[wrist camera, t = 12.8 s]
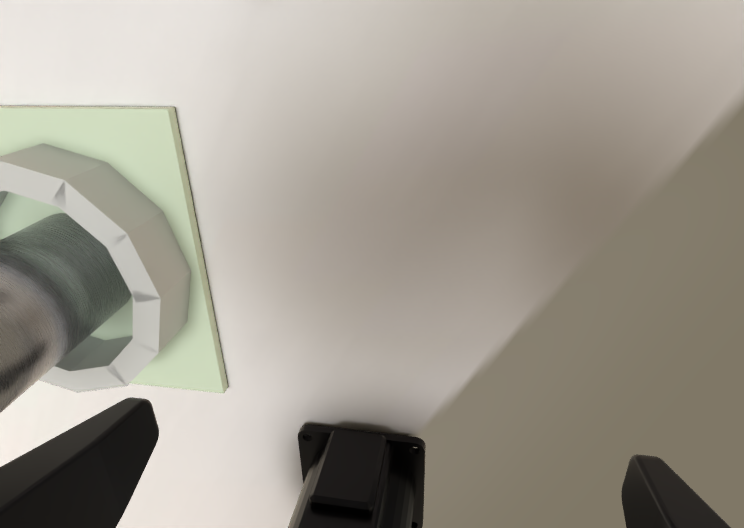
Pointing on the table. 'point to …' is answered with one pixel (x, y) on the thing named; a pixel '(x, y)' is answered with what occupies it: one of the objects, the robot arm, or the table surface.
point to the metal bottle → (51, 298)
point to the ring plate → (160, 180)
